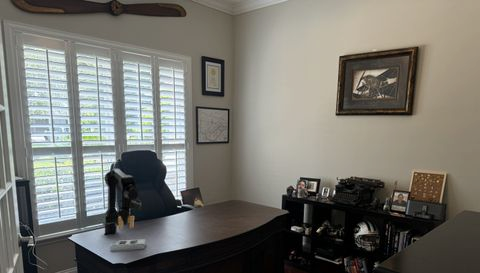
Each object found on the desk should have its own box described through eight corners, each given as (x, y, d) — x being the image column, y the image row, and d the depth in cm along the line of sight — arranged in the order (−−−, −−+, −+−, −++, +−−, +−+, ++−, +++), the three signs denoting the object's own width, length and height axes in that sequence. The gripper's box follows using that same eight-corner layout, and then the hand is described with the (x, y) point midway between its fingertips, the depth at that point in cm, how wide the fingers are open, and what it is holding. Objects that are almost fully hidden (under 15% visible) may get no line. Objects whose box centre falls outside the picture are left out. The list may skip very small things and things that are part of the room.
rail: (110, 251, 156) (110, 245, 156) (113, 246, 163) (113, 241, 163) (143, 248, 160) (143, 243, 160) (145, 244, 166) (145, 239, 166)
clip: (118, 228, 162) (118, 217, 162) (119, 227, 165) (119, 216, 165) (133, 227, 164) (133, 216, 164) (134, 226, 167) (134, 215, 167)
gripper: (138, 199, 157) (138, 227, 157) (142, 193, 175) (142, 218, 175) (117, 200, 155) (117, 229, 154) (123, 194, 173) (123, 219, 173)
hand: (126, 223), depth 164 cm, fingers closed on clip, 3 cm apart
